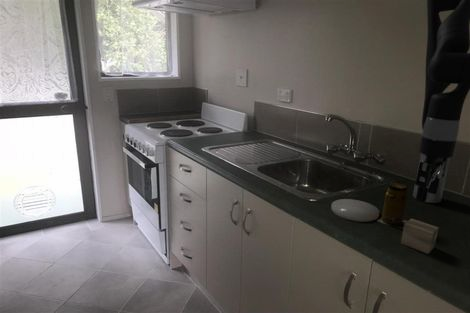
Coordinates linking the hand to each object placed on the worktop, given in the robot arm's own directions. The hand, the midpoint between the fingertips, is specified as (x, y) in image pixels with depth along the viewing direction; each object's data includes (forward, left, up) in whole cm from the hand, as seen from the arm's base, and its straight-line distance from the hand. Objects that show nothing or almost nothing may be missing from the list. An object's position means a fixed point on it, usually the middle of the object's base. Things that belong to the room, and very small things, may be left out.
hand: (426, 196), depth 90 cm
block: (0, 0, -14) cm, 14 cm away
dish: (-7, -22, -14) cm, 27 cm away
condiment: (-9, -10, -15) cm, 20 cm away
